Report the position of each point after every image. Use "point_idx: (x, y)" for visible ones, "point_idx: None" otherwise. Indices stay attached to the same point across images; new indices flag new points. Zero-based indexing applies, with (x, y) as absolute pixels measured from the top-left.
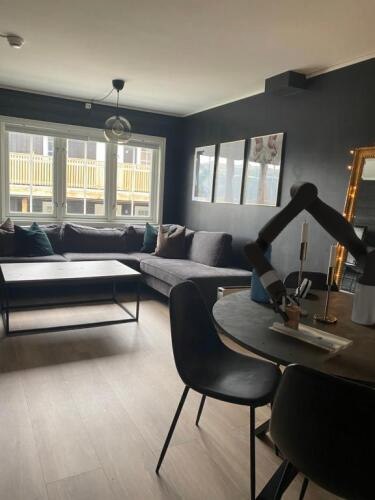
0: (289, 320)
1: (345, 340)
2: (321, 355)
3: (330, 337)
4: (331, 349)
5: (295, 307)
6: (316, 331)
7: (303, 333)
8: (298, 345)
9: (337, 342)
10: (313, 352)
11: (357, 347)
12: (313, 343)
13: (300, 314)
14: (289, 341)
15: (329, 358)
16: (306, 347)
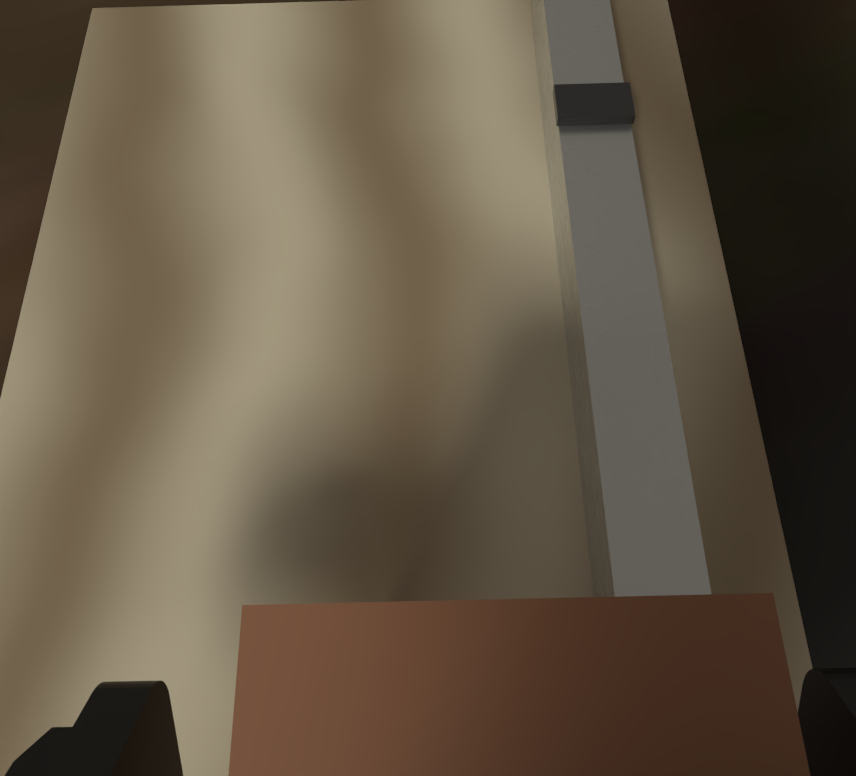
0: (829, 675)
1: (144, 57)
2: (761, 72)
3: (206, 195)
4: (618, 3)
5: (490, 760)
6: (116, 446)
7: (665, 347)
8: (805, 367)
9: (317, 69)
10: (786, 151)
11: (136, 5)
12: (674, 191)
13: (136, 741)
14: (827, 537)
15: (739, 3)
16: (745, 273)
